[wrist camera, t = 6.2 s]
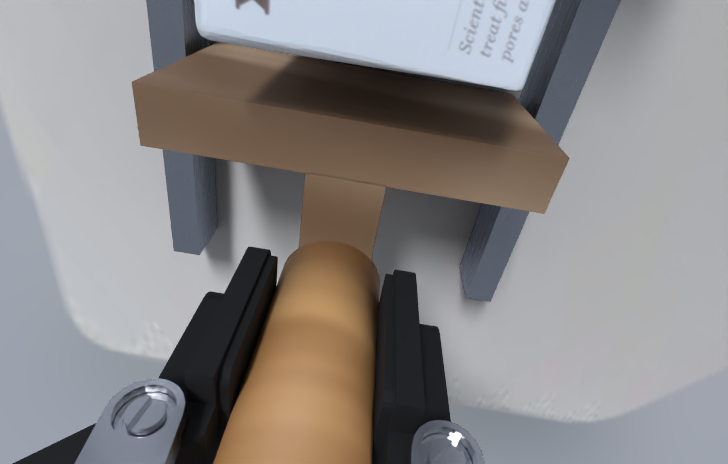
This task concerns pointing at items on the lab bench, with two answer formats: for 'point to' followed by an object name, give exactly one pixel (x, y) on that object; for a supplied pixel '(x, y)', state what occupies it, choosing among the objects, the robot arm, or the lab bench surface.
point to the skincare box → (391, 34)
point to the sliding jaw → (336, 214)
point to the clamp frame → (494, 223)
